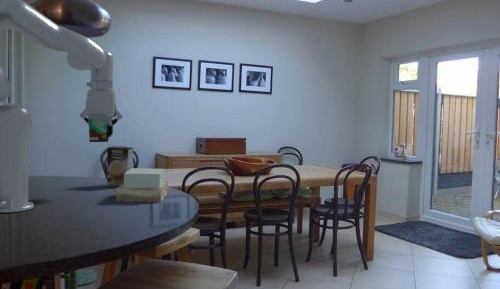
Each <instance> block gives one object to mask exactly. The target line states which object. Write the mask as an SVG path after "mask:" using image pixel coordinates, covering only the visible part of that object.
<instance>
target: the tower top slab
mask: <svg viewBox="0 0 500 289" xmlns="http://www.w3.org/2000/svg"><path fill="white" fill-rule="evenodd" d="M164 178H165V169H164V168H142V167H140V168H139V167H138V168H136V167H135V168H134V167H133V168H131V169H130V170H128V171H127V172H126V173H124V188H153V189H160V187H161V185H162V184H163V182H165V179H164Z"/></svg>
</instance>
